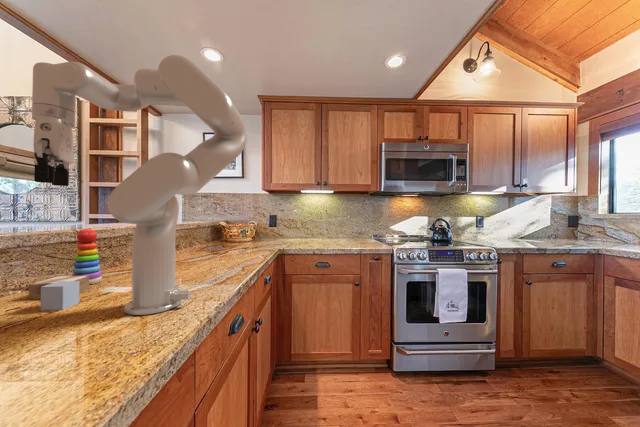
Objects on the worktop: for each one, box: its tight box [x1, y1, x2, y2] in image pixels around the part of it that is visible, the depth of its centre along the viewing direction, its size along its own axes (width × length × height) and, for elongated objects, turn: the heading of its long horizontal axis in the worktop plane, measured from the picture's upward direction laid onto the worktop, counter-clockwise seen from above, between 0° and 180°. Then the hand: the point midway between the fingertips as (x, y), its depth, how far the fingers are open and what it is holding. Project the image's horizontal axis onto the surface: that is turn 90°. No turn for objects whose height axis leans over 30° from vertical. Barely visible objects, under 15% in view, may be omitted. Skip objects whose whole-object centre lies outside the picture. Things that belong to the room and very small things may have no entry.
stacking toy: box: [71, 228, 103, 286], centre depth 87 cm, size 8×8×19 cm
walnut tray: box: [28, 275, 90, 300], centre depth 76 cm, size 9×9×4 cm
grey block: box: [40, 281, 80, 312], centre depth 66 cm, size 5×5×6 cm
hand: (52, 184), depth 64 cm, fingers open, 9 cm apart
